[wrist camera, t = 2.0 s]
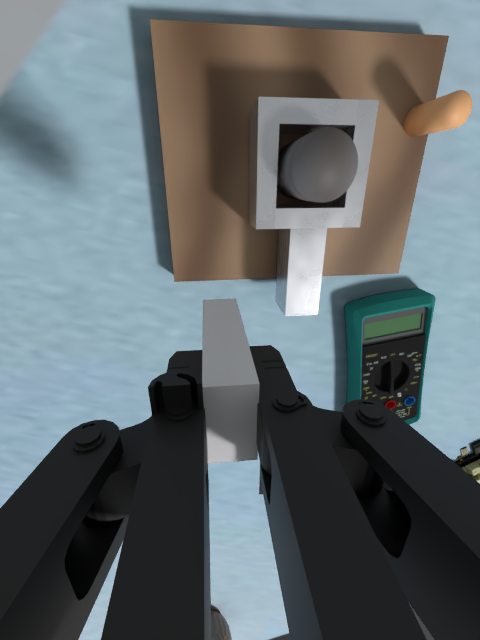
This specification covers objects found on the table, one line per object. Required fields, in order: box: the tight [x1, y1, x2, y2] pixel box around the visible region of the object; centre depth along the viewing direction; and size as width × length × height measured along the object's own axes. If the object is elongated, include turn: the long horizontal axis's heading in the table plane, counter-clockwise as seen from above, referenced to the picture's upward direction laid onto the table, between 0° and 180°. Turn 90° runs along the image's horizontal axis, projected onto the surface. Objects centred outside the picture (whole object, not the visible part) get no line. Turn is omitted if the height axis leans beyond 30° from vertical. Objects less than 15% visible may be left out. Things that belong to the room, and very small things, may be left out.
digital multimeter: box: [345, 289, 435, 424], centre depth 29 cm, size 7×15×3 cm, turn 9°
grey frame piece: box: [249, 97, 379, 316], centre depth 20 cm, size 13×7×3 cm, turn 0°
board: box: [150, 19, 449, 282], centre depth 19 cm, size 18×15×6 cm
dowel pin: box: [404, 90, 472, 137], centre depth 19 cm, size 2×2×4 cm
